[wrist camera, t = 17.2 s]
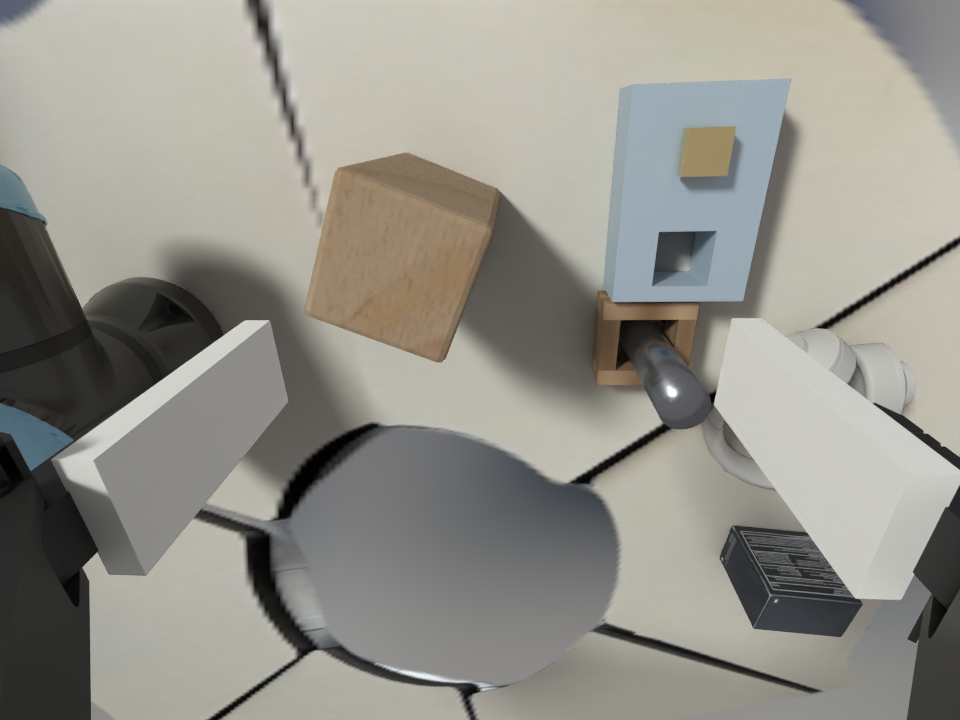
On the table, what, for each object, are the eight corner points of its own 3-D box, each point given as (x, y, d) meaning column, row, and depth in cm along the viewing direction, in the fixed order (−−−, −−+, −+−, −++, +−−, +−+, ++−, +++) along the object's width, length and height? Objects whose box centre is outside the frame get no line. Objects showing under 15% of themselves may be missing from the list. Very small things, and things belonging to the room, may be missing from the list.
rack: (591, 368, 54) (597, 385, 51) (598, 291, 51) (604, 303, 47) (673, 368, 54) (685, 385, 50) (686, 290, 50) (699, 303, 46)
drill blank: (615, 347, 53) (655, 429, 39) (619, 313, 51) (662, 385, 37) (652, 347, 53) (706, 429, 39) (657, 313, 51) (715, 385, 37)
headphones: (757, 299, 49) (672, 439, 61) (791, 339, 43) (688, 487, 54) (924, 341, 50) (809, 471, 61) (982, 386, 44) (842, 522, 55)
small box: (716, 559, 66) (750, 631, 56) (730, 523, 63) (769, 593, 54) (795, 567, 66) (842, 641, 56) (812, 531, 63) (866, 603, 53)
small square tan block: (661, 171, 44) (681, 176, 39) (667, 127, 43) (688, 127, 38) (702, 170, 44) (727, 176, 39) (709, 126, 42) (736, 126, 37)
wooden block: (501, 190, 47) (495, 228, 29) (466, 283, 51) (442, 367, 33) (403, 150, 46) (333, 164, 28) (376, 248, 50) (300, 316, 32)
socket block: (603, 286, 50) (612, 302, 46) (620, 88, 43) (632, 84, 38) (721, 285, 50) (742, 301, 45) (761, 83, 42) (791, 78, 37)
